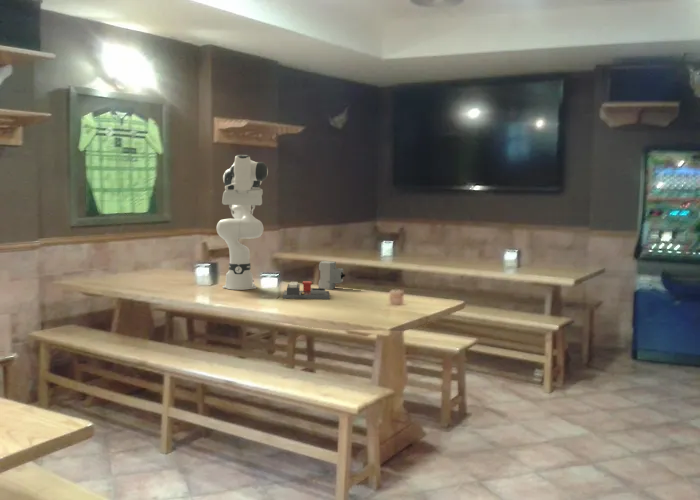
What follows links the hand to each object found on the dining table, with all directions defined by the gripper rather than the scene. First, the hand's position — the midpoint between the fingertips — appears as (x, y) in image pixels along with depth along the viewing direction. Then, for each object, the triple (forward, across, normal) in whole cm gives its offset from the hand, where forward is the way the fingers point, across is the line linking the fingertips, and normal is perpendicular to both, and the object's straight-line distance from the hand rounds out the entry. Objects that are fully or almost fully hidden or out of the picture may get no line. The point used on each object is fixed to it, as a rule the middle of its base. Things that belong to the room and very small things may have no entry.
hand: (242, 213), depth 350 cm
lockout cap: (+43, -36, -13) cm, 58 cm away
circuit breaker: (+44, -53, -27) cm, 74 cm away
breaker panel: (+43, -34, 0) cm, 55 cm away
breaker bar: (+39, -27, -1) cm, 48 cm away
